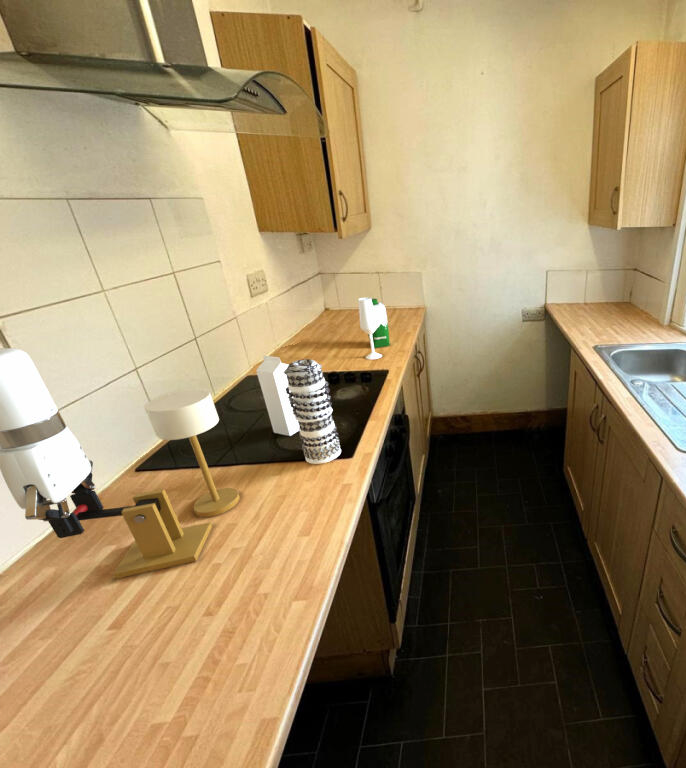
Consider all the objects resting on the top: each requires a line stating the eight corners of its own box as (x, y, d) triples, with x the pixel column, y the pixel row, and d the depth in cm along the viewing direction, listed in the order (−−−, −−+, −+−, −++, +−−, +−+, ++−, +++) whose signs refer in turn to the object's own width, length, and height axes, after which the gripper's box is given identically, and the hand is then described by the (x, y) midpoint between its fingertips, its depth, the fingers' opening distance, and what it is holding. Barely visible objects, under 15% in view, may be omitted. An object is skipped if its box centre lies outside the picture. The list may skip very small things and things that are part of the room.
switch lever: (61, 533, 68) (56, 521, 67) (79, 513, 72) (75, 502, 71) (152, 522, 71) (149, 510, 71) (164, 503, 76) (161, 493, 75)
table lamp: (181, 525, 83) (133, 415, 73) (198, 494, 92) (158, 392, 81) (238, 514, 86) (200, 406, 76) (249, 485, 94) (216, 385, 84)
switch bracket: (115, 579, 71) (85, 525, 66) (139, 541, 79) (114, 491, 74) (196, 561, 75) (174, 509, 70) (212, 526, 82) (193, 478, 78)
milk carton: (387, 340, 192) (381, 297, 183) (392, 346, 184) (386, 301, 176) (367, 343, 188) (360, 299, 180) (372, 349, 180) (365, 303, 172)
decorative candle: (335, 464, 101) (313, 369, 91) (297, 465, 101) (271, 370, 91) (348, 444, 110) (329, 355, 100) (312, 445, 110) (291, 356, 100)
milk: (290, 436, 114) (269, 361, 105) (273, 432, 116) (252, 359, 107) (307, 425, 119) (289, 353, 110) (290, 422, 121) (271, 351, 112)
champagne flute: (367, 360, 168) (357, 301, 158) (364, 355, 173) (354, 298, 164) (383, 357, 171) (375, 299, 161) (380, 352, 176) (371, 296, 167)
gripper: (36, 409, 69) (84, 496, 77) (-53, 466, 54) (18, 567, 62) (91, 402, 71) (133, 488, 79) (20, 455, 57) (80, 554, 64)
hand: (82, 522), depth 70 cm, fingers closed on switch lever, 5 cm apart
